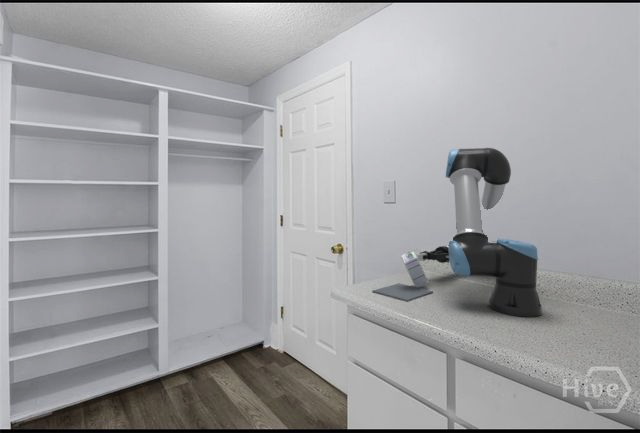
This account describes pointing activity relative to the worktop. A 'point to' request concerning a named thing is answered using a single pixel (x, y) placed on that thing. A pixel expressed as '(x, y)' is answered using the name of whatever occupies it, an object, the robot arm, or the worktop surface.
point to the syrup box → (414, 269)
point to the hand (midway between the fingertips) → (417, 257)
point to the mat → (402, 292)
